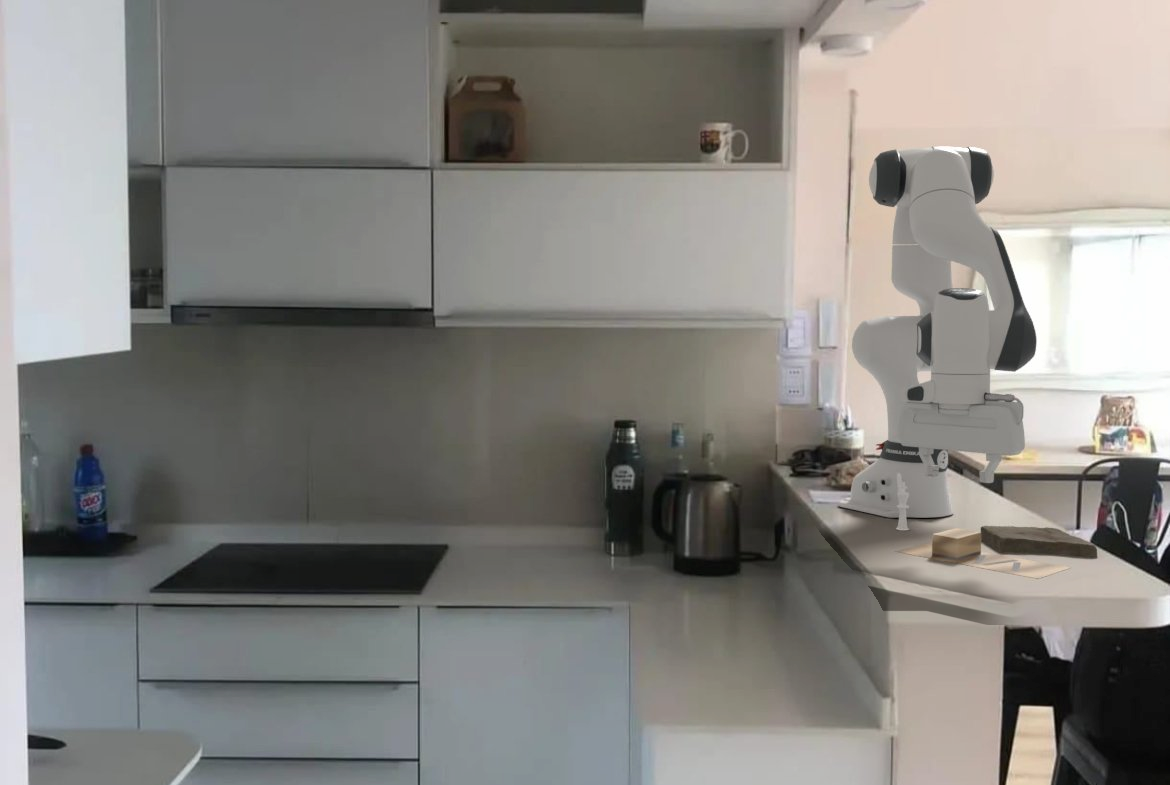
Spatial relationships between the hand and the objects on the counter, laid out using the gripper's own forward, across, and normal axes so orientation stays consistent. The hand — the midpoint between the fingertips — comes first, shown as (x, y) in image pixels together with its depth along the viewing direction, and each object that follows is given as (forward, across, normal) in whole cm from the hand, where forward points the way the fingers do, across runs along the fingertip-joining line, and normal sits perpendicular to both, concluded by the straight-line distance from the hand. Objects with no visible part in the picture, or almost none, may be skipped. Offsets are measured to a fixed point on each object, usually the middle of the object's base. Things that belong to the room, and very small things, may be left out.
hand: (958, 479), depth 173 cm
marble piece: (+14, -5, -16) cm, 22 cm away
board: (+14, -4, 0) cm, 14 cm away
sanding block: (+12, 0, 0) cm, 12 cm away
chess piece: (+14, +17, -11) cm, 25 cm away
